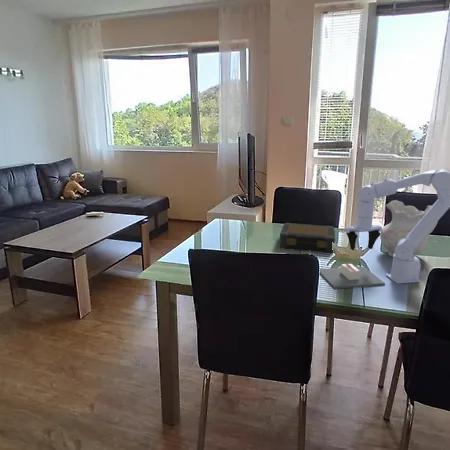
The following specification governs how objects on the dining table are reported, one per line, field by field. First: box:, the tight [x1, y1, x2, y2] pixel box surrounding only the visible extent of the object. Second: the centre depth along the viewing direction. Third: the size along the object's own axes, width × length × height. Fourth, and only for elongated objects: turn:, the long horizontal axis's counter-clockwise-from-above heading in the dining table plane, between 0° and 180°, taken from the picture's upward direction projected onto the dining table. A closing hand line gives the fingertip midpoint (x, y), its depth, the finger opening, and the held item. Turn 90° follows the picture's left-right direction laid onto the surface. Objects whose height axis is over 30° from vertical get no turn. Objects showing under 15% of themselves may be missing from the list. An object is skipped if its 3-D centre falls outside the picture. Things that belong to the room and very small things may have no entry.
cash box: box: [278, 222, 336, 254], centre depth 183 cm, size 25×20×8 cm
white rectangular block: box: [340, 263, 360, 280], centre depth 146 cm, size 7×4×4 cm, turn 9°
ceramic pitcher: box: [379, 199, 439, 258], centre depth 166 cm, size 22×20×25 cm
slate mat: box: [319, 265, 386, 290], centre depth 147 cm, size 20×16×1 cm
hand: (361, 248), depth 151 cm, fingers open, 7 cm apart
